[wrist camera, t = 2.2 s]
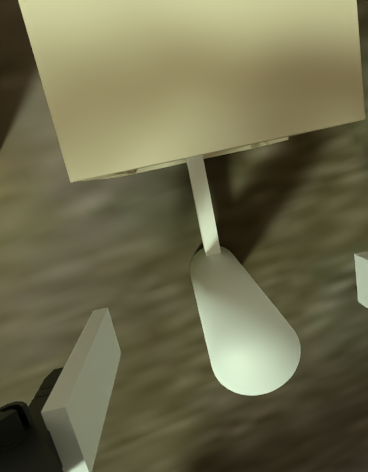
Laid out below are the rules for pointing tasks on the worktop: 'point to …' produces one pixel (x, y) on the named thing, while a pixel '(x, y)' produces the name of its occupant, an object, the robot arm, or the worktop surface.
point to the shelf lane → (190, 76)
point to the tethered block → (236, 310)
